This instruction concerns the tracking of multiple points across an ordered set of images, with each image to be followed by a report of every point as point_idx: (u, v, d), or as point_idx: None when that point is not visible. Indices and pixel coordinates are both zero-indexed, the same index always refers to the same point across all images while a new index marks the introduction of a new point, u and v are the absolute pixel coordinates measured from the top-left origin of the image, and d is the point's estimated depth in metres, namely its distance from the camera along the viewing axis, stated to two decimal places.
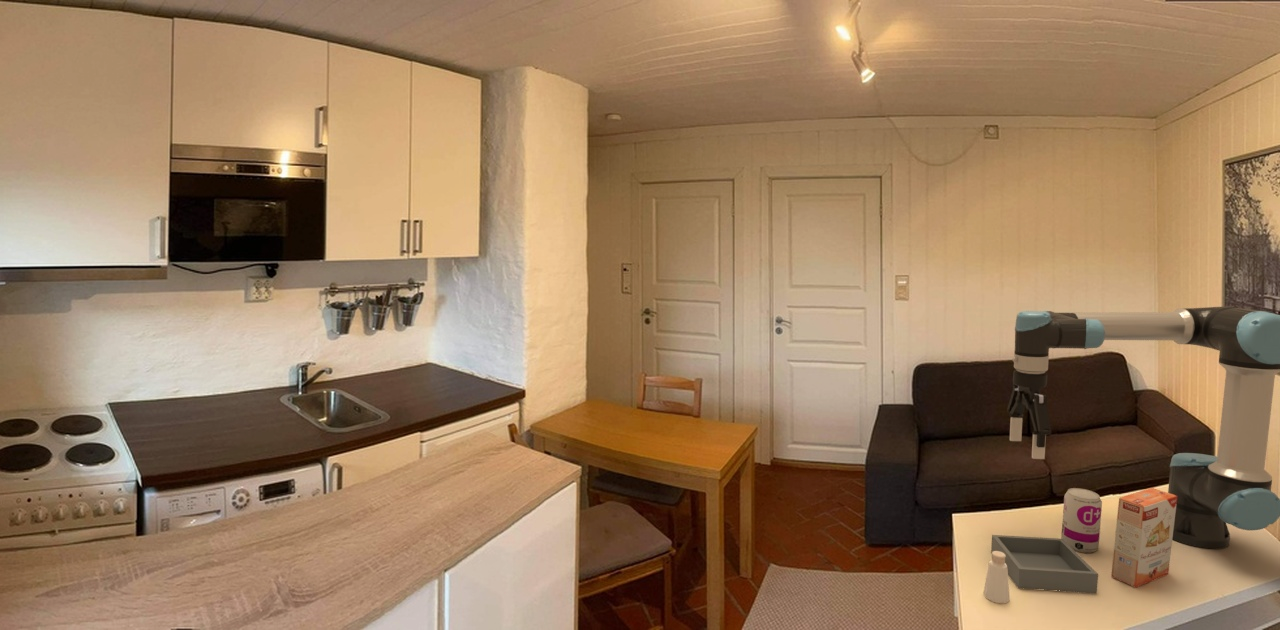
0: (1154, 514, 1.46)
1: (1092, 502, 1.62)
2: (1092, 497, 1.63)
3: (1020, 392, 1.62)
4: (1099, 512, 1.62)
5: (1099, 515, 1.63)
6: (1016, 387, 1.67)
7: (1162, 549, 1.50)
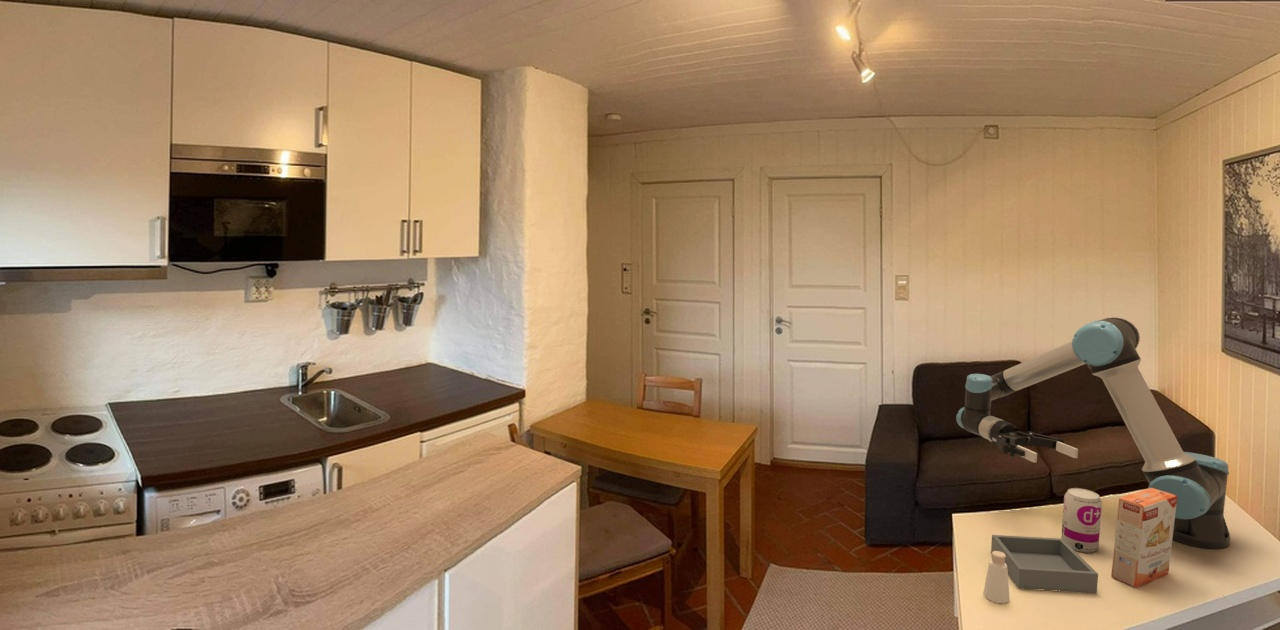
0: (1154, 514, 1.46)
1: (1092, 502, 1.62)
2: (1092, 497, 1.63)
3: None
4: (1099, 512, 1.62)
5: (1099, 515, 1.63)
6: None
7: (1162, 549, 1.50)
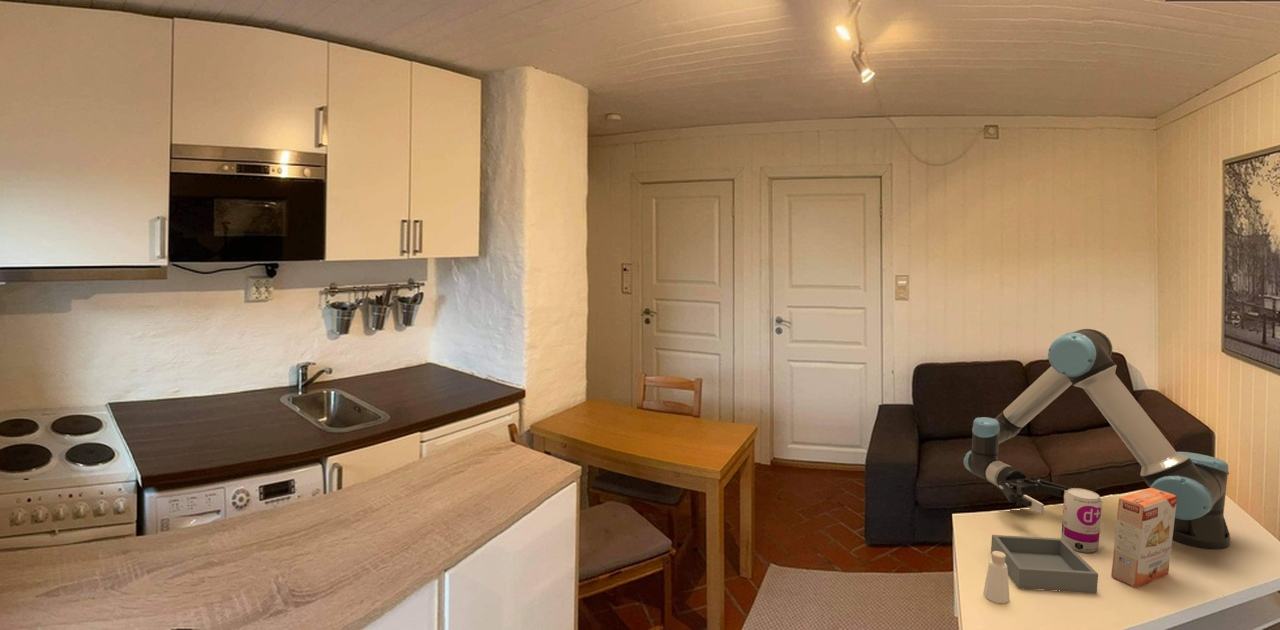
0: (1154, 514, 1.46)
1: (1092, 502, 1.62)
2: (1092, 497, 1.63)
3: None
4: (1099, 512, 1.62)
5: (1099, 515, 1.63)
6: None
7: (1162, 549, 1.50)
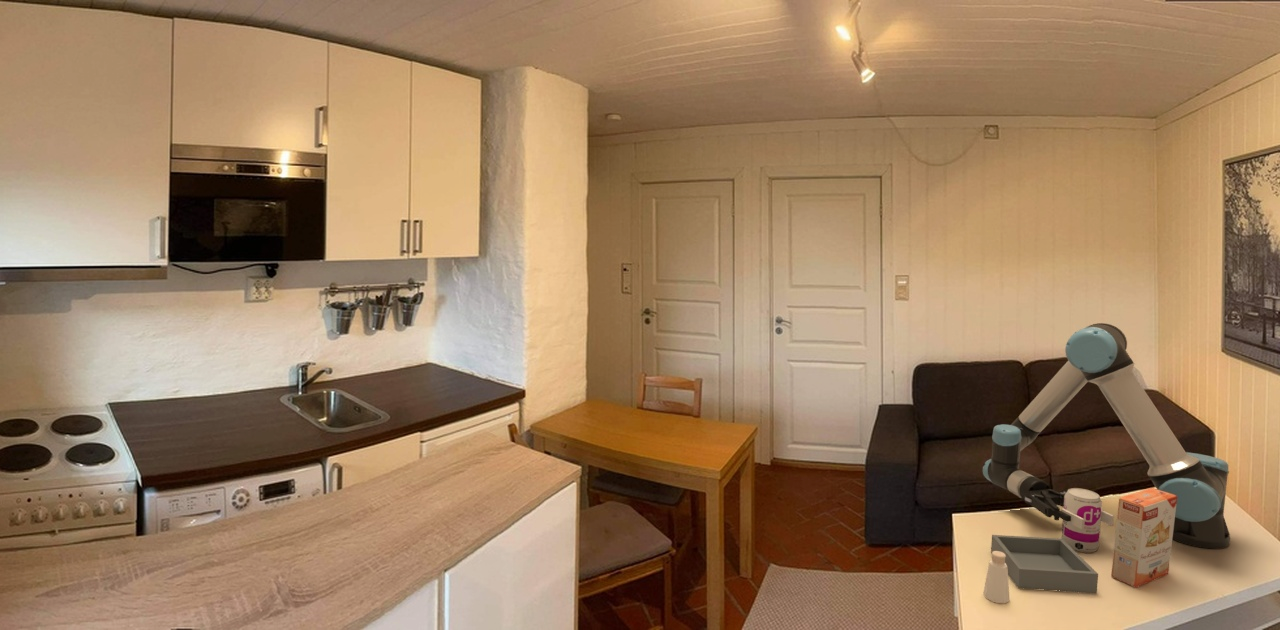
0: (1154, 514, 1.46)
1: (1092, 502, 1.62)
2: (1092, 497, 1.63)
3: None
4: (1099, 512, 1.62)
5: (1100, 515, 1.63)
6: None
7: (1162, 549, 1.50)
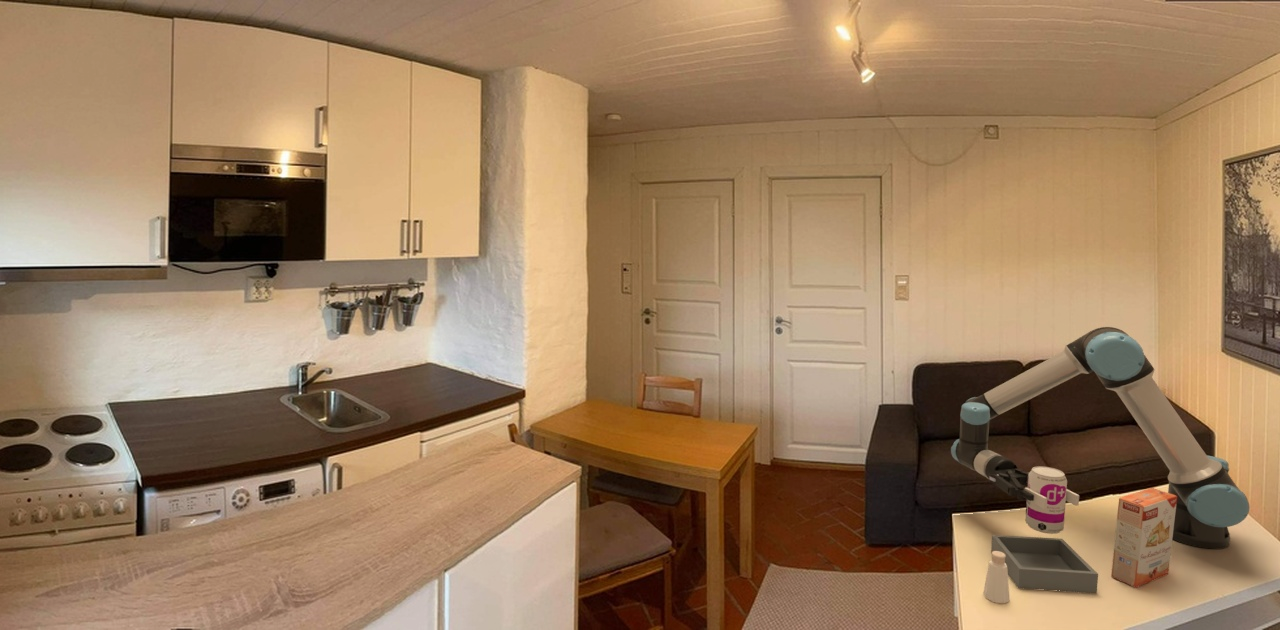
0: (1154, 514, 1.46)
1: (1056, 481, 1.53)
2: (1056, 475, 1.55)
3: None
4: (1063, 491, 1.54)
5: (1064, 494, 1.54)
6: None
7: (1162, 549, 1.50)
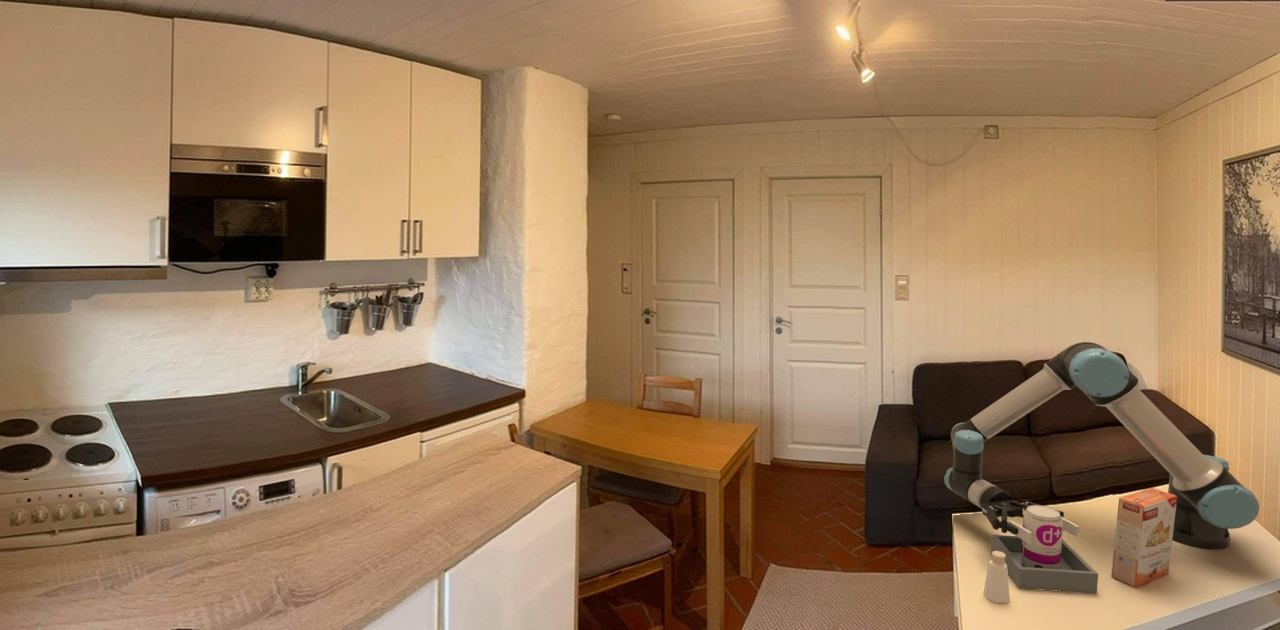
0: (1154, 514, 1.46)
1: (1052, 521, 1.50)
2: (1052, 515, 1.51)
3: None
4: (1060, 531, 1.50)
5: (1060, 534, 1.51)
6: (1025, 508, 1.67)
7: (1162, 549, 1.50)
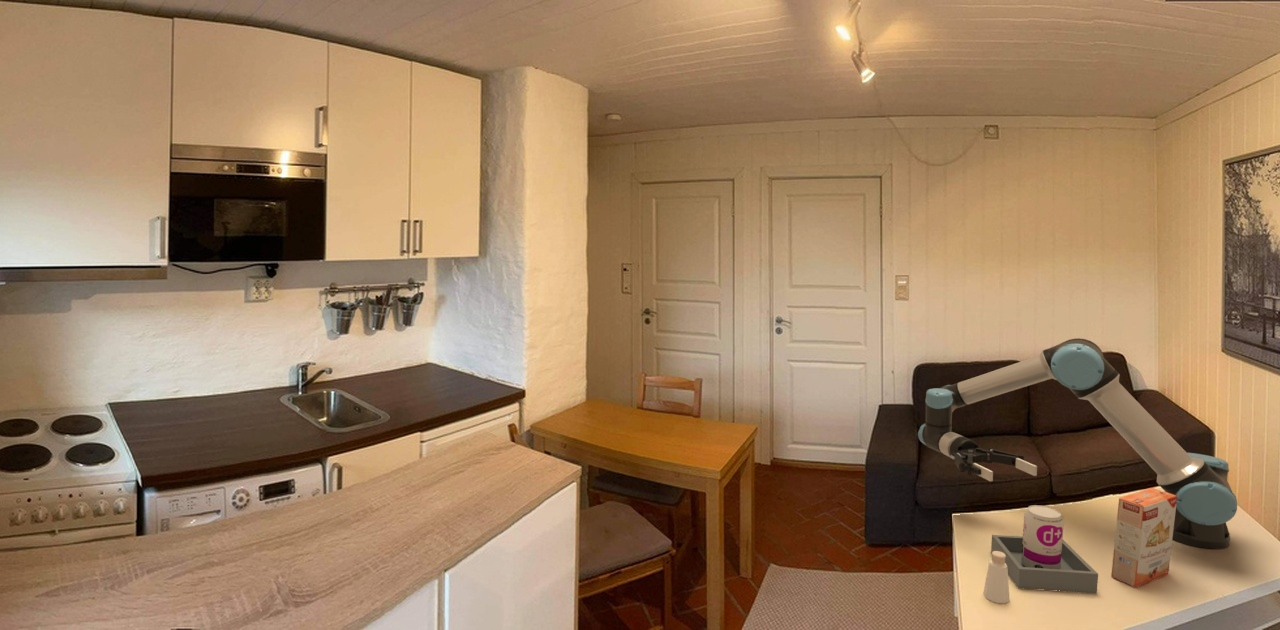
0: (1154, 514, 1.46)
1: (1053, 521, 1.50)
2: (1053, 515, 1.51)
3: None
4: (1060, 532, 1.50)
5: (1061, 535, 1.51)
6: (990, 455, 1.82)
7: (1162, 549, 1.50)
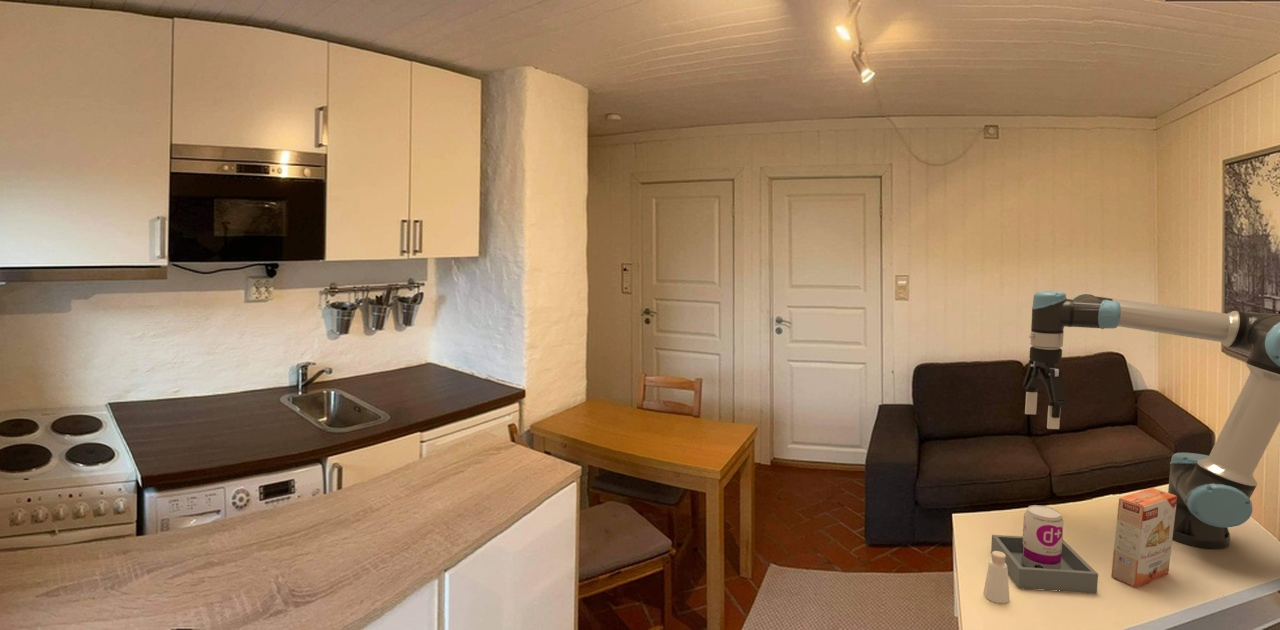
0: (1154, 514, 1.46)
1: (1053, 521, 1.50)
2: (1053, 515, 1.51)
3: (1036, 367, 1.73)
4: (1060, 532, 1.50)
5: (1061, 535, 1.51)
6: (1032, 363, 1.78)
7: (1162, 549, 1.50)
